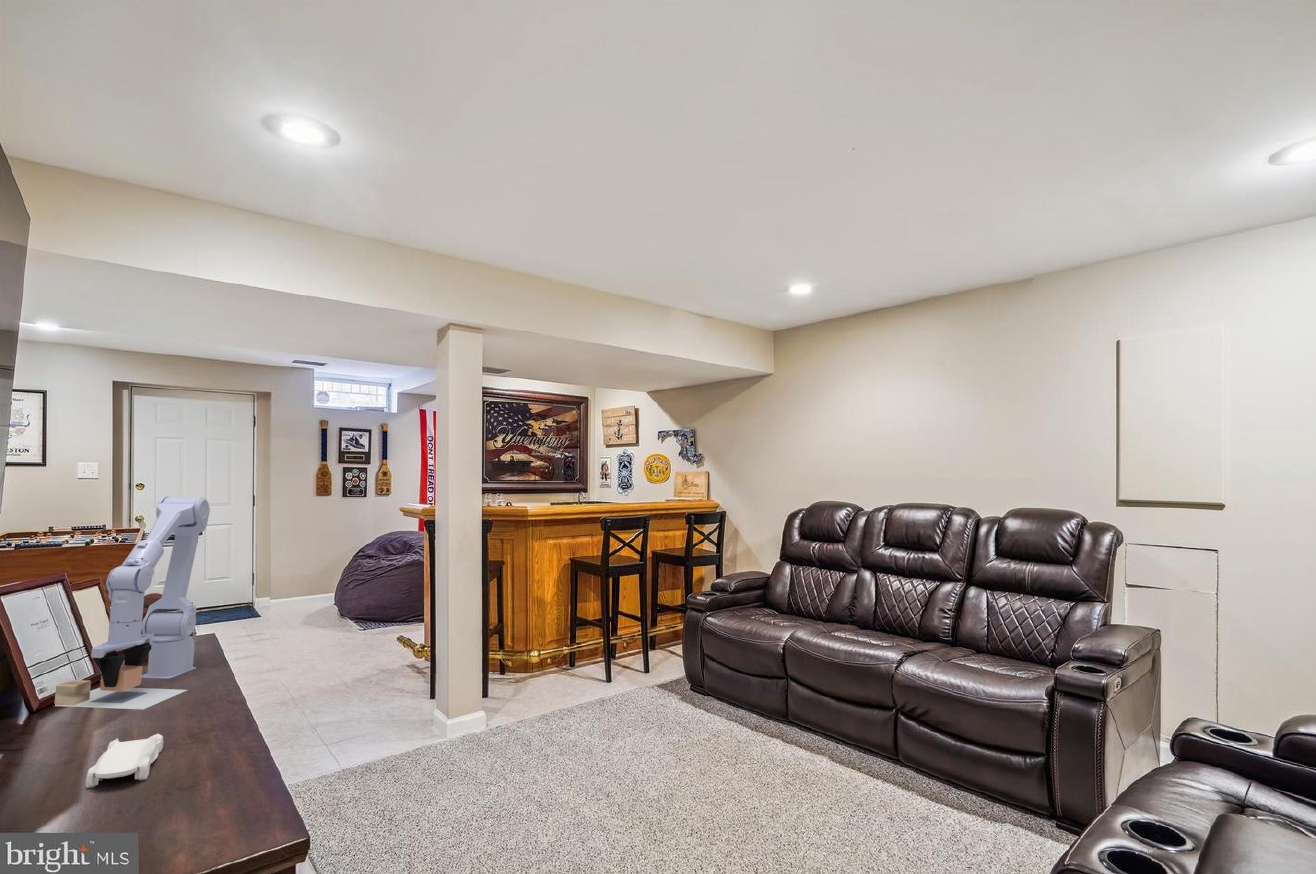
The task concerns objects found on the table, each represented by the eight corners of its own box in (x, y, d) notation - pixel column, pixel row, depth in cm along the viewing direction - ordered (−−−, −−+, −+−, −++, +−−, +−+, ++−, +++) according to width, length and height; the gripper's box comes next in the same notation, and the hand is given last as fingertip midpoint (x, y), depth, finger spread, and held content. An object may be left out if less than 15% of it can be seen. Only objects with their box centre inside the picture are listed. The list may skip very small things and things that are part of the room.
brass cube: (71, 698, 145) (73, 680, 145) (89, 699, 144) (91, 680, 145) (54, 705, 141) (56, 685, 141) (73, 705, 140) (74, 686, 141)
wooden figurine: (163, 666, 172) (169, 596, 173) (132, 669, 168) (138, 598, 169) (164, 655, 181) (169, 589, 182) (134, 658, 177) (140, 590, 179)
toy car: (110, 754, 120) (113, 728, 120) (164, 747, 124) (166, 722, 124) (80, 797, 104) (83, 768, 104) (142, 788, 108) (145, 759, 108)
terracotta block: (118, 683, 149) (120, 665, 149) (140, 684, 149) (142, 666, 149) (100, 690, 144) (101, 671, 144) (122, 691, 144) (124, 672, 144)
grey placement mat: (102, 688, 153) (102, 686, 153) (187, 692, 153) (187, 689, 153) (49, 708, 140) (50, 705, 140) (143, 711, 140) (143, 708, 140)
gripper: (116, 628, 140) (111, 693, 139) (168, 614, 155) (163, 674, 154) (84, 627, 140) (78, 692, 139) (138, 613, 155) (133, 672, 154)
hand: (120, 682), depth 147 cm, fingers closed on terracotta block, 5 cm apart
